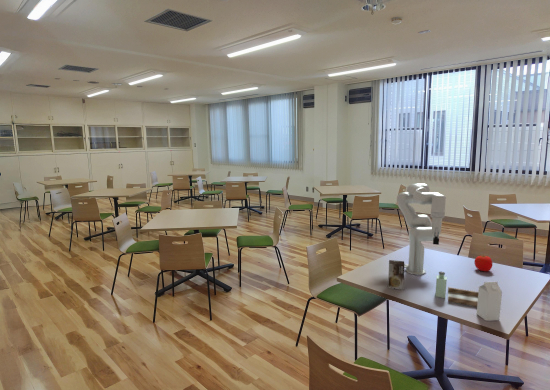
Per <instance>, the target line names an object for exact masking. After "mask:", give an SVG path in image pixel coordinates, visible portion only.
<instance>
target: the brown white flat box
mask: <svg viewBox="0 0 550 390" xmlns="http://www.w3.org/2000/svg"><path fill="white" fill-rule="evenodd" d="M478 292H479V291H475V290H469V289H463V288H462V289H461V288H455V287H449V286H448V289H447V302H448V303H452V304H458V305H463V306H468V307H473V308H477V303H478Z"/></svg>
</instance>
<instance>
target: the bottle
mask: <svg viewBox="0 0 550 390" xmlns="http://www.w3.org/2000/svg"><path fill="white" fill-rule="evenodd" d="M445 275H446V272H444V271H439V272H438V275H436V280H435V281H436V283H435V284H436V285H435V296H434V297H436V298H442V299H445V298H446V291H447V279H448V278H447V276H445Z"/></svg>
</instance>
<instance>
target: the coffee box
mask: <svg viewBox="0 0 550 390" xmlns="http://www.w3.org/2000/svg"><path fill="white" fill-rule="evenodd" d="M405 264H406V263H405V261H404V260H395V259H394V260H393V259H392V260H391V259H389V261H388V281H387V288H388V289H394V288H395V290H396V289H397V290H403V291H404V288H405V286H404V285H405V268H404V266H405Z"/></svg>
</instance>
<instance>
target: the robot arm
mask: <svg viewBox="0 0 550 390" xmlns="http://www.w3.org/2000/svg"><path fill="white" fill-rule="evenodd" d="M446 198H447V197H446V195H444V194H441V193H439V192H435V191H434V192H431V191H430V186H429V185H428V184H426V183H410V184H408V186H407V187H406V191H403V192H399V193H398V194H397V196H396V204H397V207H398V208H399V210H400V211H401V213H402V215H403V217H404V221H405V224H406V225H407V227H409V230H408V241H409V247H408V250H409V251H408V263H404V264H405V266H404V269H405V271H406V273H408V274H411V275H417V276H423V275H425V274H426V270H425V268H424V263H425V262H424V261H425V247H424V246H425V245H424V244H423V243H422V242H432V244H433V245H436V246H437V245H440V235H441V231H442V226H443V219H445V217H446V216H445V214H446ZM411 204H418V205H423V206H425V205H430V206H431V207H430V216H429V215H427V214H418V213H417V211H416V210H415V208H414V207H413V206H412V205H411ZM430 217H431V218H430Z"/></svg>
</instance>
